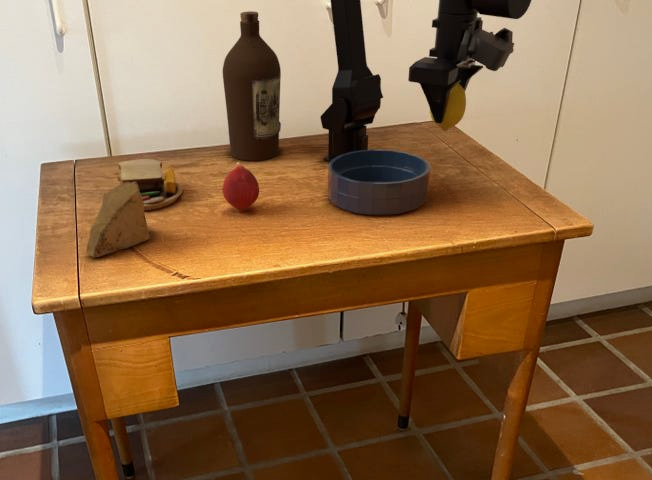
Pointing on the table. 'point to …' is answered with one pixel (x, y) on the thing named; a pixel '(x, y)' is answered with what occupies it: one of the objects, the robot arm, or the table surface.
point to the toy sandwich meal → (150, 182)
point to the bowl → (378, 181)
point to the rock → (118, 221)
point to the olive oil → (252, 94)
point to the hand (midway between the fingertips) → (445, 118)
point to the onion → (240, 188)
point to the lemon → (453, 108)
